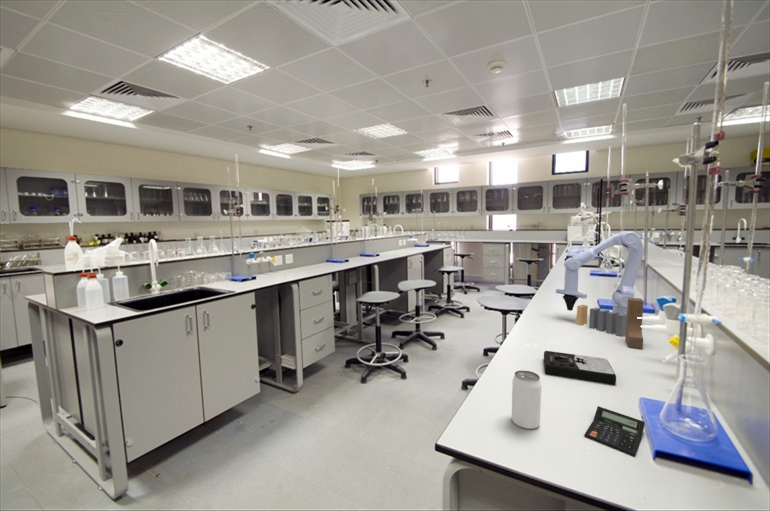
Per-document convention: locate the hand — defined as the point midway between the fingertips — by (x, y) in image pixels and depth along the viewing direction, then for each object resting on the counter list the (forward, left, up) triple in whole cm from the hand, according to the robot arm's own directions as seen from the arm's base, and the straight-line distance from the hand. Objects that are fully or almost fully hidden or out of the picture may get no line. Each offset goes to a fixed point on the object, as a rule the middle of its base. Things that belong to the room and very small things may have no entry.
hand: (569, 310), depth 161 cm
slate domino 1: (0, +12, -5) cm, 13 cm away
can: (+88, +46, -6) cm, 99 cm away
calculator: (+74, +59, -6) cm, 94 cm away
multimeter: (+50, +35, -6) cm, 61 cm away
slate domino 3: (0, +20, -5) cm, 20 cm away
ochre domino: (0, +6, -5) cm, 8 cm away
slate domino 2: (0, +16, -5) cm, 17 cm away
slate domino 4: (0, +23, -5) cm, 24 cm away
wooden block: (+8, +32, -6) cm, 33 cm away
